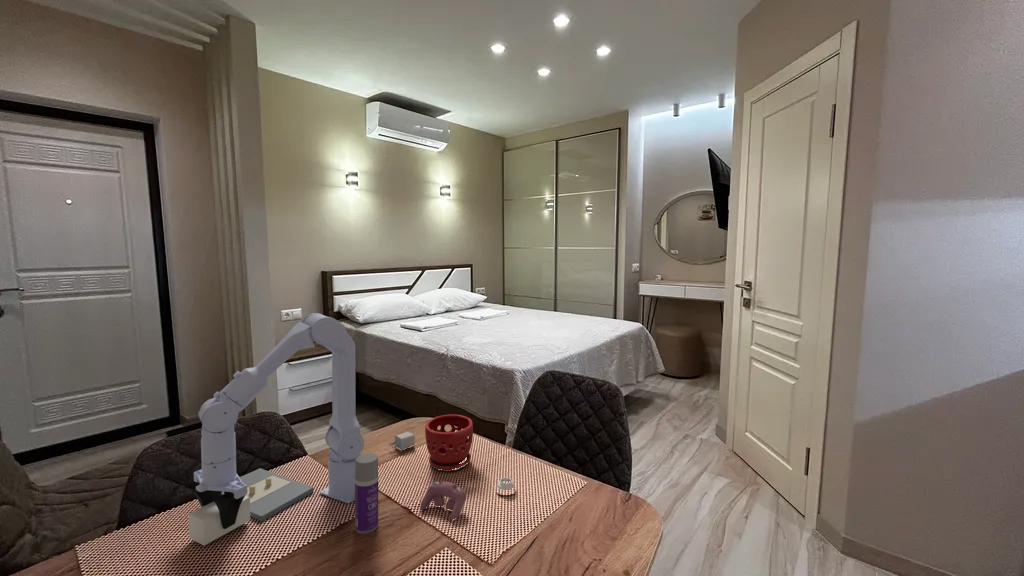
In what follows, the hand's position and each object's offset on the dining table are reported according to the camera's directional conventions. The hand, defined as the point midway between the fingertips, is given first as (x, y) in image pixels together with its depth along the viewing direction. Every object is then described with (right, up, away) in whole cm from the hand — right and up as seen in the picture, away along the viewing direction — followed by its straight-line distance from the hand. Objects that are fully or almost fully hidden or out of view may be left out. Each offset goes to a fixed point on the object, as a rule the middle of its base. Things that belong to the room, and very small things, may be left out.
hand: (220, 521), depth 86 cm
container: (+29, -3, +3) cm, 29 cm away
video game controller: (+44, -3, +9) cm, 45 cm away
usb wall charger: (+26, -1, +40) cm, 48 cm away
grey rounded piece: (+58, -3, +18) cm, 61 cm away
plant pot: (+42, -2, +31) cm, 52 cm away
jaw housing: (0, -1, 0) cm, 1 cm away
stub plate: (0, -1, +14) cm, 14 cm away
